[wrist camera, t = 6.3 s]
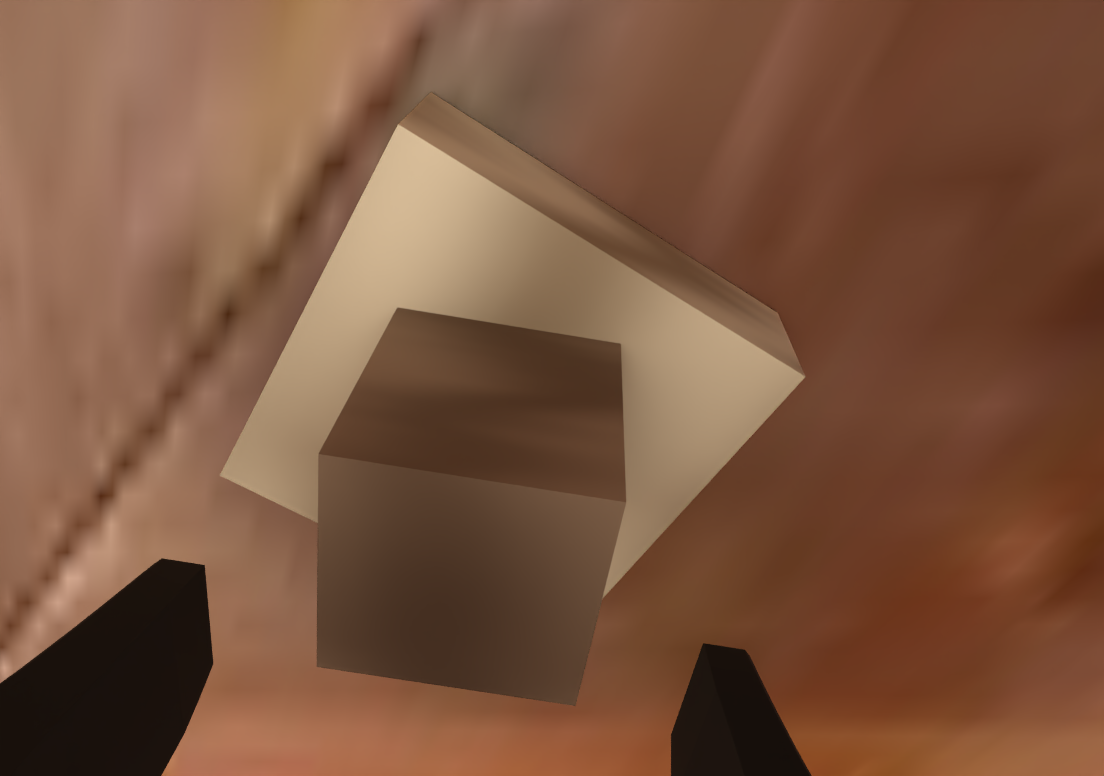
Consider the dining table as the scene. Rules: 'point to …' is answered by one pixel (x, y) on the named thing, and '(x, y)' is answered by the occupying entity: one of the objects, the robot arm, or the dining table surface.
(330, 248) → the dining table surface
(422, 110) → the base block
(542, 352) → the walnut block
